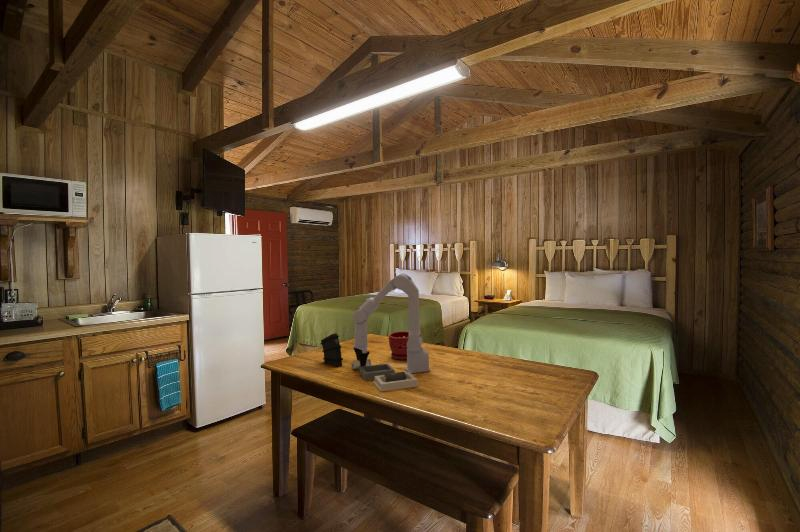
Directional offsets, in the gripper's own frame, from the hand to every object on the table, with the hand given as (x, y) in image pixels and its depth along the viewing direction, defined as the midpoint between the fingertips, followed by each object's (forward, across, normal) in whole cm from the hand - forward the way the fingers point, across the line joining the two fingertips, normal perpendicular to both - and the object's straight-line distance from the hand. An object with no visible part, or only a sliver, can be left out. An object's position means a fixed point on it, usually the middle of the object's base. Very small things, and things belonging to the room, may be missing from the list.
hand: (361, 364), depth 178 cm
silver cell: (+1, -1, 0) cm, 2 cm away
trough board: (+2, +26, +8) cm, 27 cm away
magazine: (+2, -12, -12) cm, 17 cm away
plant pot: (+2, -9, +23) cm, 25 cm away
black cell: (+1, +26, +8) cm, 27 cm away
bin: (+2, +12, +4) cm, 13 cm away
